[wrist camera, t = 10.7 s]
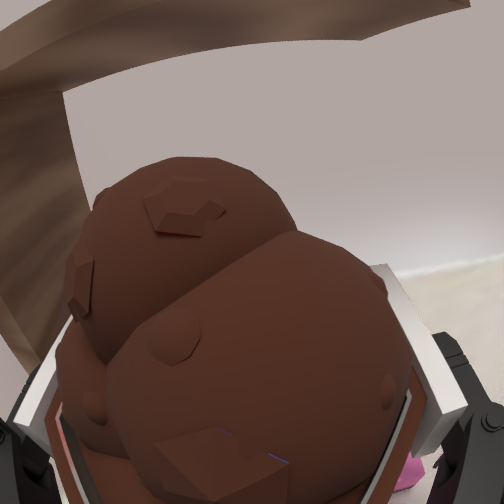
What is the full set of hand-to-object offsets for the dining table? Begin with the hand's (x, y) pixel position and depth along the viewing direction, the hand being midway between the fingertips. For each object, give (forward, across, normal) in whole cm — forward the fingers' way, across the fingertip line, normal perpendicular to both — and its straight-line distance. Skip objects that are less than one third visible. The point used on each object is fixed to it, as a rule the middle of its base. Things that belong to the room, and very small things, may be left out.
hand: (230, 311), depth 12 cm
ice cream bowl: (-4, 0, -9) cm, 10 cm away
